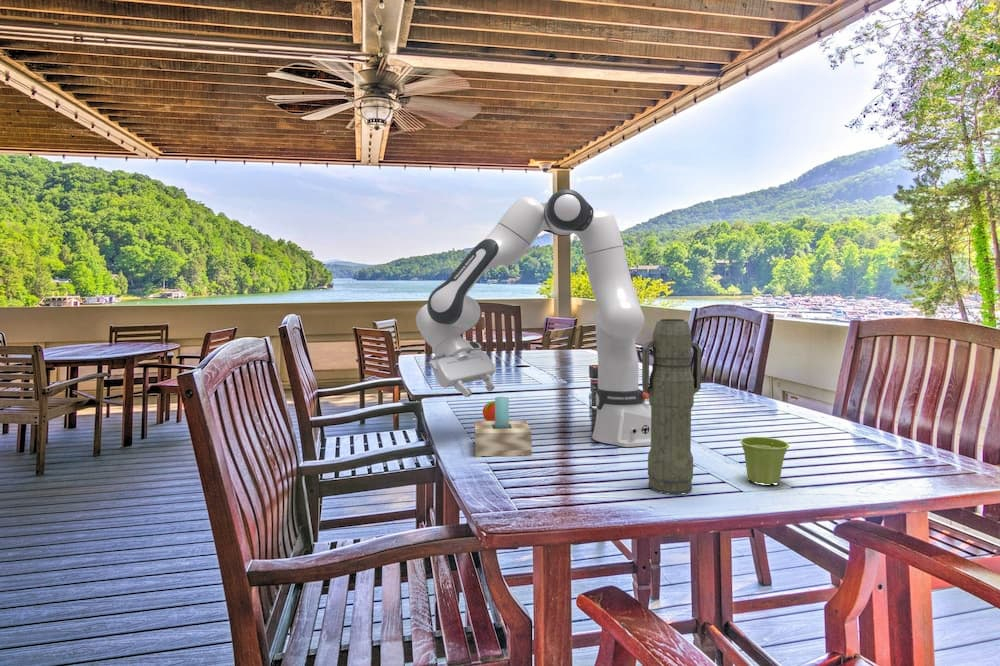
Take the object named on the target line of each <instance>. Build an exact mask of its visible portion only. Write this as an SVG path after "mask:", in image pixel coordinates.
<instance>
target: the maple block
mask: <svg viewBox="0 0 1000 666" xmlns="http://www.w3.org/2000/svg"><path fill="white" fill-rule="evenodd" d="M532 436H533V435H532V430H531V428H530V426H529V424H528V422H527V420H526V419H525V420H524V419H523V420H522V419H521V420H520V419H519V420H509V429H495V421H486V420H474V449H475V458H482V457H481V456H501V457H518V456H517V455H532V453H533V452H532V448H533V447H532V445H533V443H532V442H533V441H532Z"/></svg>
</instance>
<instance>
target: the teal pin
mask: <svg viewBox="0 0 1000 666" xmlns="http://www.w3.org/2000/svg"><path fill="white" fill-rule="evenodd" d="M494 401H495V429H509V421H510V418H509V417H510V416H509V415H510V413H509V412H510V411H509V410H510V406H509V403H510V402H509V401H510V399H509V397H508V396H507V397H506V396H496V397H495V398H494Z"/></svg>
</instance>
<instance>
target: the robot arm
mask: <svg viewBox="0 0 1000 666" xmlns="http://www.w3.org/2000/svg"><path fill="white" fill-rule="evenodd" d="M542 232H546V233H550V234H553V235H555V236H558V237H559V236H560V237H566V236H567V237H568V236H570V235H572V234H574V235H575V236H577V237H578V239H579V241H580V244H581V246H582V247H581V248H582V253H583V257H584V261H585V263H584V264H585V266H586V270H587V276H588V280H589V284H590V287H591V290H592V292H593V296H594V299H595V304H596V305H597V306H596V307H597V308H598V309H597V310H596V313H595V317H594V318H595V324H594V325H595V339H596V340H595V341H596V350H597V351H596V353H597V387H596V393H595V406H596V415H595V417H596V418H595V423H594V427H593V433H592V435H591V439H592V440H594V441H595V442H599V443H604V444H609V445H615V446H619V447H622V448H630V447H631V448H632V447H645V446H646V447H647V446H651V406H650V404H648V403H646V402H645V401H647V400H648V401H649V394H648V393H645V392H643V389H640V388H639V357H638V352H637V346H636V337H637V336H638V335H639V334H640V333H641V332H642V330H643V328H644V326H645V315H644V313H643V309H642V307H641V303H640V300H639V297H638V293H637V291H636V289H635V285H634V282H633V280H632V276H631V274H630V273H631V272H630V268H629V264H628V259H627V254H626V251H625V246H624V241H623V238H622V235H621V232H620V228H619V225H618V222H617V220H616V218H615V217H614V215H613V213H612V212H610V211H609V210H606V209H605V210H604V209H598V210H595V209H594V208H593V207H592V205H591V204H590V203H589V202H587V200H586V199H585V198H584V196H583V195H581V193H579V192H578V191H576V190H573V189H569V188H564V189H560V190H558V191H556V192H554V193H553V194H552V195H551V196H550V197H549V198H548V201H546V202H541V201H539V200H538V199H536V198H535V197H531V196H521V197H519V198H518V199H516V201H515V202H514V203H513V204H512V205H510V207H509V208H508V209H507V210H506V212H504V214H503V215H502V217H500V219H499V221H497V223H496V225H495V227H493V229H492V230H491V231H490V233H489V234H487V236H486V237H485V238H484V239H483V240H481V241H480V242H479V243H477V245H475V246H474V248H473V249H472V250H471V251H470V252H469V253H468V254H467V256H466V257H465V258H464V259H463V260H462V261H461V263H460V264H459V265H458V266H457V268H456V269H455V270H454V271H453V272H452V274H451V275H450V276H449V277H448V278H447V279H446V280H445V281H444V282H443V283H441V284H440V285H439V286H437V287H436V288H434V290H432V291H431V293H430V294H429V297H428V299H427V303H426V304H424V305H422V307H421V308H420V309H419V310H418V311H417V313H416V315H415V324H416V326H417V329H418V330H419V332H420V334H421V336H422V338H423V339H424V341H425V342H426V344H427V345H428V346H430V347H431V349H432V352H433V354H434V355H435V356H431V357H430V359H429V360H428V361H429V362H428V363H429V365H430V367H431V369H432V372H433V374H434V377H435V379H436V381H437V382H438V384H439V385H440V386H441V387H442V388H444V389H447V388H451V387H453V388H454V389H455V390H456V391H458V392H460V393H462V395H463V397H464V398H469V397H471V396H472V395H473V392H472V390H471V388H470V387H467V386H465V385H464V384H467V383H468V384H469V383H472V382H476V381H481V380H482V381H483V382H485V384H486V386H484V388H485V389H486V390H487V392H492V391H494V390H495V388H496V387H495V385H494V383H493V381H492V380H493V379H492V376H493V375H494V374H495V373H496V371H497V368H496V365H495V363H494V362H493V361H492V359H491V358H490V357H489V355H488V353H486V352H485V351H484V350H482V345H481V344H480V343H479V342H476V341H471V340H467V339H465V338H463V337H462V336H461V335H462V334H465V333H466V332H468V331H469V330H471V329H472V328H474V327H475V326H476V325H477V324H478V323H479V321H480V319H481V317H482V311H481V306H480V303H479V301H477V300H476V299H475V298H472V297H471V296H469V295H468V294H469V292H470V291H471V290H472V288H473V287H474V286H475V284H477V282H478V281H479V279H480V278H481V277H482V276H483V274H485V272H487V271H488V270H490V269H492V268H494V267H500V266H510V265H511V266H512V265H514V264H517V263H518V262H519V260H520V259H522V258H523V257H524V256H525V254H526V253H527V251H528V250H529V249H530V247H531V246H532V244H533V243H534V242H535V240H536V239H537V238H538V236H539V235H540V234H541V233H542Z"/></svg>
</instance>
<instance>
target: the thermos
mask: <svg viewBox="0 0 1000 666" xmlns="http://www.w3.org/2000/svg"><path fill="white" fill-rule="evenodd" d="M692 337H693V336H692V332H691V328H690V324H689V323H688V321H687V320H686V321H685V319H683V318H682V319H681V318H680V319H678V318H677V319H676V318H675V319H674V318H661V319H660V320H657V321H656V324H655V326H654V329H653V332H652V341H651V340H650V341H649V342H646V343H645V344H644V345H643V347H642V353H641V354H642V355H641V356H642V357H641V358H642V360H641V361H642V363H641V364H642V365H641V367H642V368H641V372H642V373H641V374H642V376H641V377H642V378H641V382H642V383H641V384H642V385H641V386H642V391H643V392H645V393H648V394H649V400H648V403H649V406H650V407H651V445H650V450H649V451H648V452H649V453H648V455H647V475H648V488H649V487H650V488H651V489H652V491H653V490H655V491H657V492H656V493H658V492H662V493H669V494H682V493H687V494H689V493H688V492H690V491H691V490H693V486H692V480H693V478H694V457H693V454H692V451H691V446H692V445H691V442H692V439H691V437H692V408H693V406H694V405H695V404H694V403H695V401H694V400H695V396H694V395H696V394H697V393H698V392H699V391H700V390H701V389H702V388H701V386H702V385H701V383H702V382H701V381H702V380H701V379H702V377H701V376H702V374H701V373H702V349H701V348H700V346H699V345H698V343H696V342H693V341H692ZM651 348H652V359H653V363H652V366H651V367H652V368H651V372H650V350H651ZM692 350H693V352H692ZM692 353H693V356H692ZM692 358H693V359H692ZM691 359H692V361H693V362H692V364H691ZM650 488H649V489H650ZM651 489H650V490H651ZM655 491H654V492H655ZM691 492H692V491H691ZM691 492H690V493H691ZM662 493H661V494H662ZM669 494H668V495H669Z"/></svg>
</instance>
